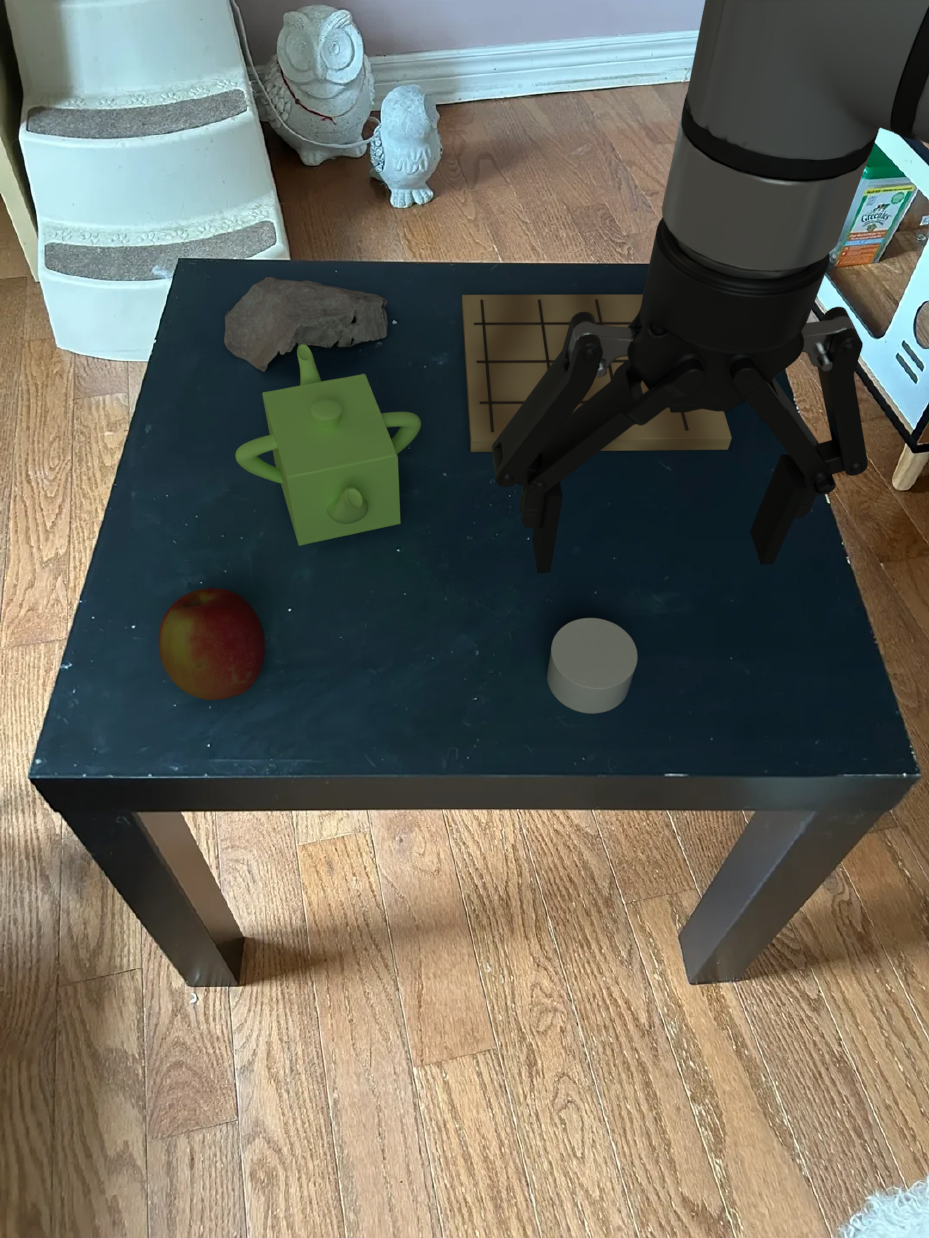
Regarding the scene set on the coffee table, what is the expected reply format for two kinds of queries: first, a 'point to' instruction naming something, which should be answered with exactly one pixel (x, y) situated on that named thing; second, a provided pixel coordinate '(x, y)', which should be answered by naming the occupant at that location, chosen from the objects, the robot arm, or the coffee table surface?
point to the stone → (300, 319)
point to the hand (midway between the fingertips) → (651, 552)
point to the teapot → (331, 454)
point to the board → (528, 345)
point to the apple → (212, 644)
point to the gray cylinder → (591, 665)
